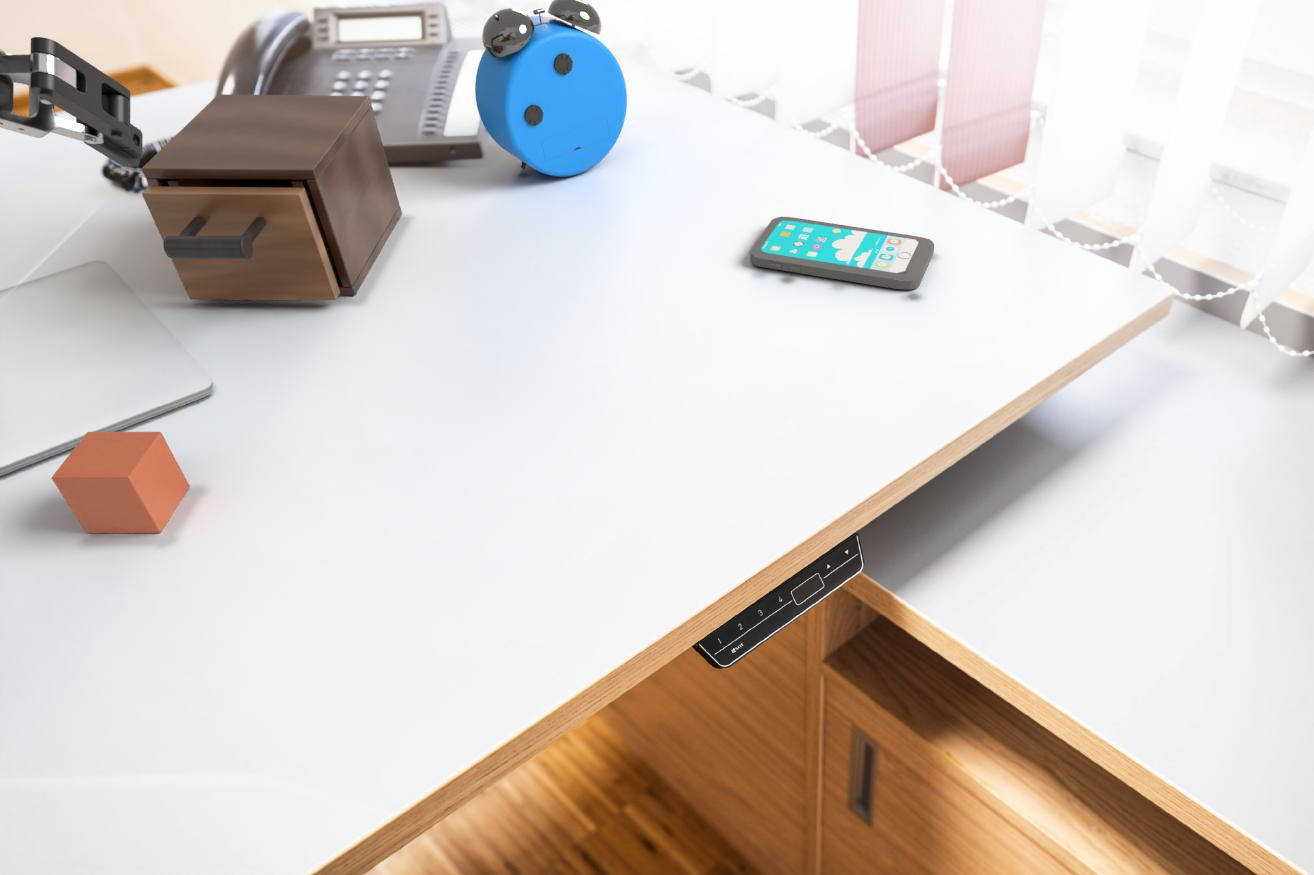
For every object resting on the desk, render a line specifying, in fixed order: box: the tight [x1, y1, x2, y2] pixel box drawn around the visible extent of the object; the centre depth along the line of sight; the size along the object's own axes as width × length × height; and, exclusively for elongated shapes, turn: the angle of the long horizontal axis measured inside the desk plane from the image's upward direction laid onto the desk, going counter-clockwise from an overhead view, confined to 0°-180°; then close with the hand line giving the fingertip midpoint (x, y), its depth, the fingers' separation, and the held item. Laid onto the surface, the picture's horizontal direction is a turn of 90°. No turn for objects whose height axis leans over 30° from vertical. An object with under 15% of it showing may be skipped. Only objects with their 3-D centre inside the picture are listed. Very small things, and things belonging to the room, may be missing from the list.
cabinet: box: [141, 93, 403, 297], centre depth 87 cm, size 15×13×11 cm
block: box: [51, 431, 190, 534], centre depth 65 cm, size 4×4×4 cm
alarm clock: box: [474, 0, 628, 177], centre depth 98 cm, size 13×6×15 cm, turn 131°
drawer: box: [141, 179, 340, 301], centre depth 83 cm, size 18×11×9 cm, turn 2°
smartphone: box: [749, 216, 935, 290], centre depth 91 cm, size 9×1×15 cm
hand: (57, 150), depth 60 cm, fingers open, 8 cm apart
